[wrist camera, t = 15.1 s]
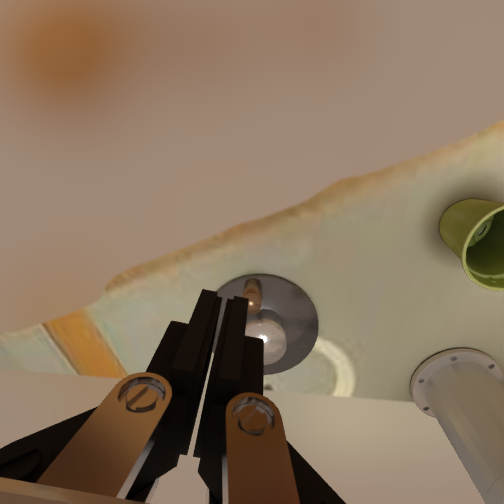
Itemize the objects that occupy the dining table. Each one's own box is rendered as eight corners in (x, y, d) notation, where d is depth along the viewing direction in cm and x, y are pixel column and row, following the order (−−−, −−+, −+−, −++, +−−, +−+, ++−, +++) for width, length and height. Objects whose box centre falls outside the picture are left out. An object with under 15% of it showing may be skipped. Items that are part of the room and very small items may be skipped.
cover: (269, 301, 43) (270, 317, 39) (293, 333, 45) (295, 352, 41) (233, 321, 44) (230, 339, 41) (257, 351, 46) (256, 371, 42)
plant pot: (475, 269, 41) (526, 303, 33) (409, 244, 40) (444, 273, 32) (522, 201, 38) (591, 221, 30) (450, 173, 37) (501, 186, 29)
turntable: (278, 252, 41) (280, 272, 36) (337, 340, 46) (347, 370, 40) (182, 309, 45) (169, 335, 40) (245, 385, 50) (242, 418, 44)
